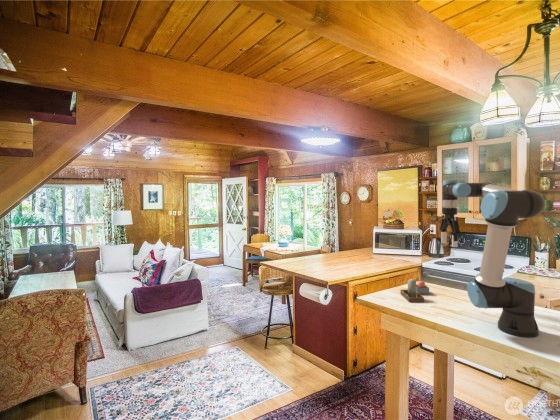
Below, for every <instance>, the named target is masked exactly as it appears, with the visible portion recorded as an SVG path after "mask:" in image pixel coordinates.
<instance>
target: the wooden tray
mask: <svg viewBox="0 0 560 420" xmlns="http://www.w3.org/2000/svg"><path fill="white" fill-rule="evenodd" d="M400 295H401V296H402V297H403V298H404V299H405V300H406V301H407V302H408V303H425V296H423V294H419V293H418V292H417V291H416V297H409V296H408V289H400Z"/></svg>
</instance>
